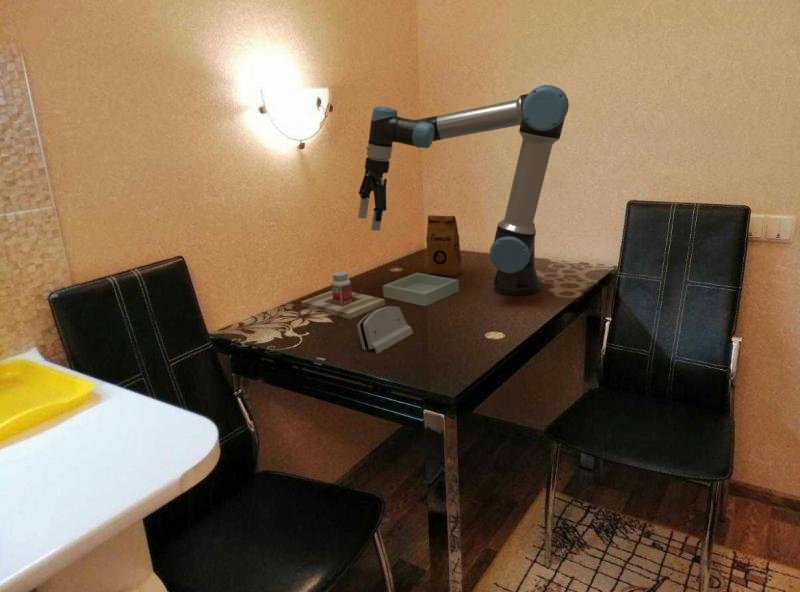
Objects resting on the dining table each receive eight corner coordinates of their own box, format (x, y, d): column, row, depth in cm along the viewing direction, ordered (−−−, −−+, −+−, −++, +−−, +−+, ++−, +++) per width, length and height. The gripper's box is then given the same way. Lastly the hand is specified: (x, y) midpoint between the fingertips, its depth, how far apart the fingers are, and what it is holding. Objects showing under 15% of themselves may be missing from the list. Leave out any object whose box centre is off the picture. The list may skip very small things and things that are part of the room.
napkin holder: (377, 353, 153) (364, 317, 152) (364, 356, 156) (351, 320, 155) (414, 332, 165) (402, 299, 164) (401, 335, 168) (390, 302, 167)
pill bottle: (353, 302, 194) (350, 270, 190) (351, 309, 188) (348, 275, 184) (334, 303, 194) (331, 271, 190) (332, 309, 188) (329, 276, 185)
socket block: (384, 305, 189) (384, 299, 189) (349, 319, 178) (348, 313, 178) (337, 294, 203) (337, 288, 203) (301, 307, 192) (301, 301, 191)
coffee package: (455, 278, 213) (453, 218, 207) (424, 276, 219) (421, 217, 212) (465, 271, 222) (464, 213, 215) (435, 269, 227) (432, 212, 221)
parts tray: (458, 291, 199) (458, 279, 198) (425, 306, 186) (425, 294, 185) (417, 283, 210) (416, 272, 209) (383, 297, 198) (382, 285, 196)
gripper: (354, 149, 193) (346, 212, 201) (380, 166, 172) (369, 235, 180) (376, 151, 196) (367, 213, 204) (403, 168, 175) (392, 236, 183)
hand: (368, 224), depth 192 cm, fingers open, 13 cm apart
